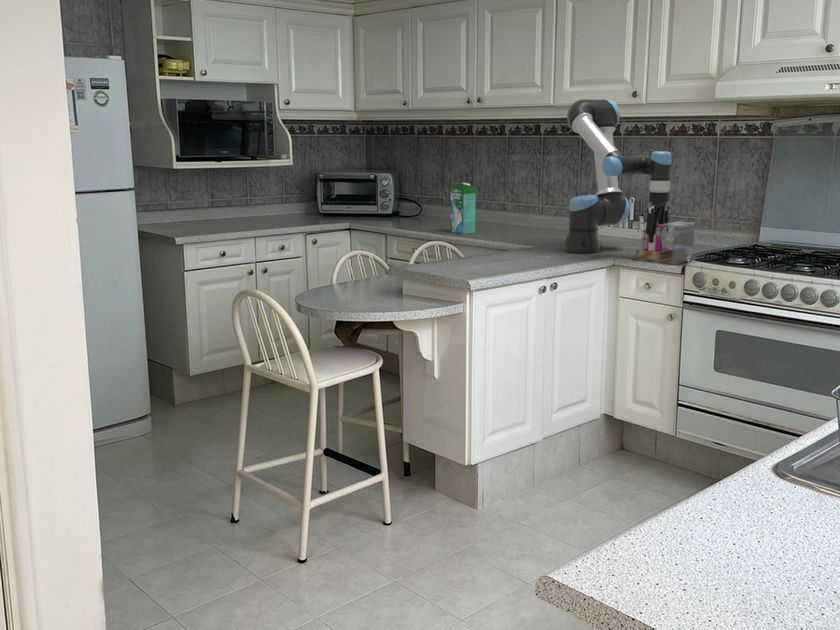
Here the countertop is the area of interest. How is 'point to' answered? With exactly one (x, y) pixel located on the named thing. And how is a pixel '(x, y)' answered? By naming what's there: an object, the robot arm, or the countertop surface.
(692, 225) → the socket station
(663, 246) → the supplement box
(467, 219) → the milk carton
